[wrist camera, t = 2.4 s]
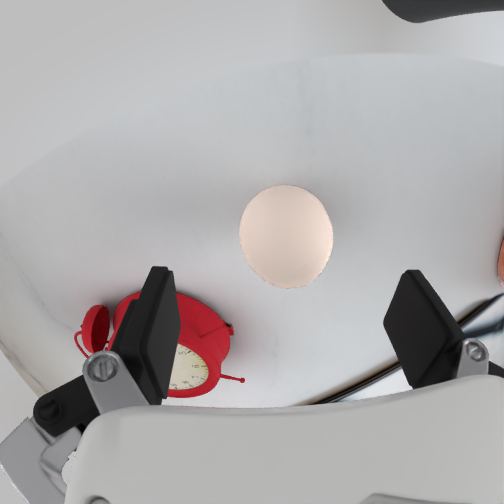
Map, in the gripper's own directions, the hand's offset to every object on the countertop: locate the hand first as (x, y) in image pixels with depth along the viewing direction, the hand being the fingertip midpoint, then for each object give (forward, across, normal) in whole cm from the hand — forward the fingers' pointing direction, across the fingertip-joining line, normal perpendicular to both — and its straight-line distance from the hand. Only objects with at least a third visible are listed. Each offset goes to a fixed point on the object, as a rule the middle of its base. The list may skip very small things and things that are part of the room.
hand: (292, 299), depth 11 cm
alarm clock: (+8, +10, +12) cm, 17 cm away
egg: (+8, 0, 0) cm, 8 cm away
